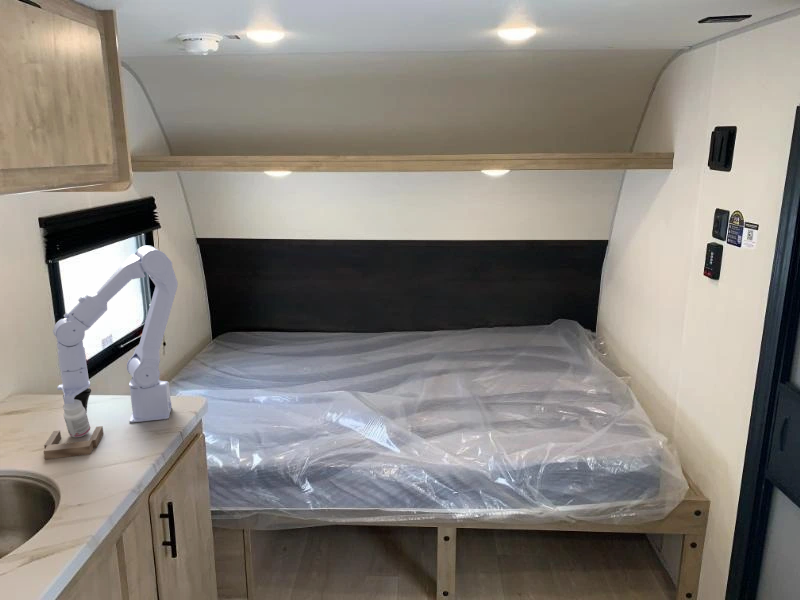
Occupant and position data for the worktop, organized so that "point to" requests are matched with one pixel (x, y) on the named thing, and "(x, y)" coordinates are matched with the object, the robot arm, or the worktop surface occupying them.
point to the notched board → (71, 445)
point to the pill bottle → (76, 419)
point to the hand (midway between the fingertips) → (80, 419)
